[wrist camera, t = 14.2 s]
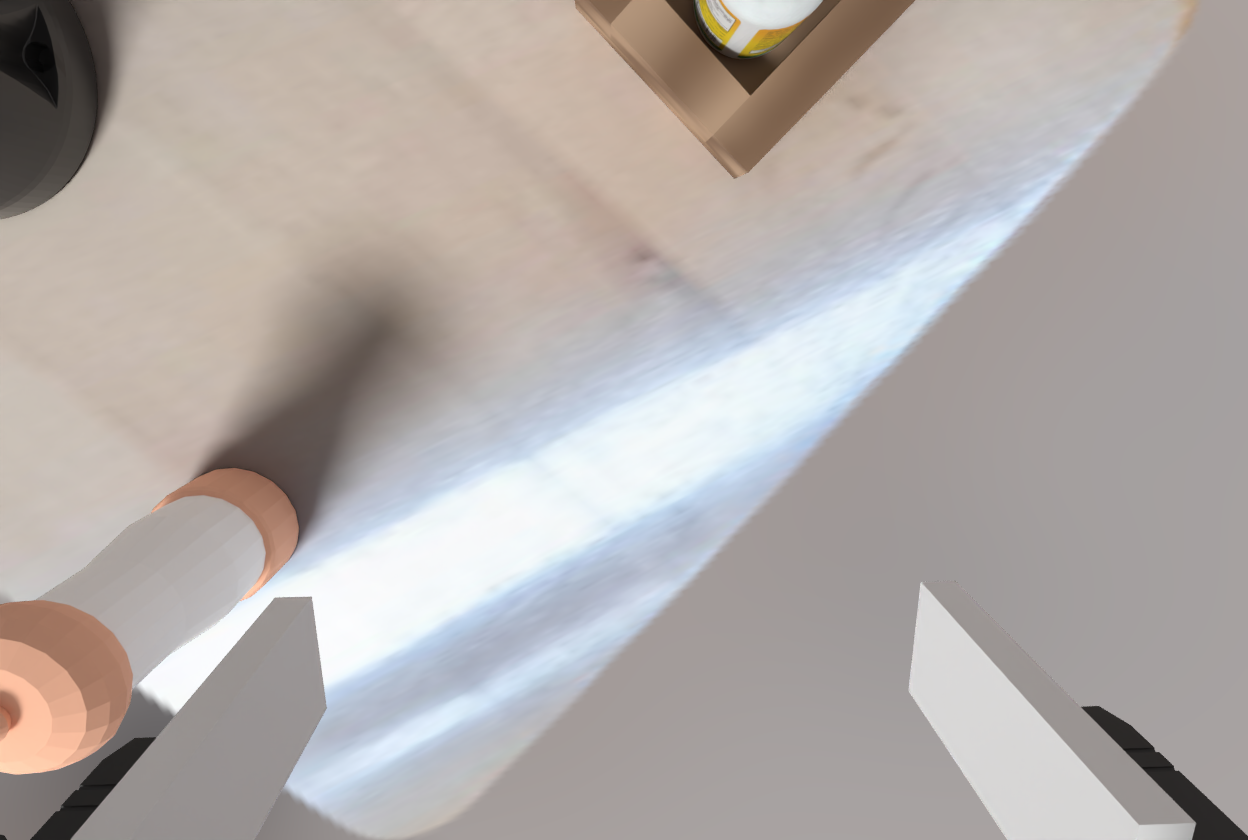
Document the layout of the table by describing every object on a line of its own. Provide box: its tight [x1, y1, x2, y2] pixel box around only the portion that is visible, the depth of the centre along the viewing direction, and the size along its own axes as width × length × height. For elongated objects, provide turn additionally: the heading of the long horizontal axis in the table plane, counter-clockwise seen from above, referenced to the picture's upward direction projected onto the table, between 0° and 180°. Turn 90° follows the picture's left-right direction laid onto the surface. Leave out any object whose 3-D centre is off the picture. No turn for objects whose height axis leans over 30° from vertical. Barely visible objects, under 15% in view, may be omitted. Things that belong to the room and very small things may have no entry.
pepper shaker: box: [0, 468, 299, 774], centre depth 35 cm, size 7×7×19 cm
